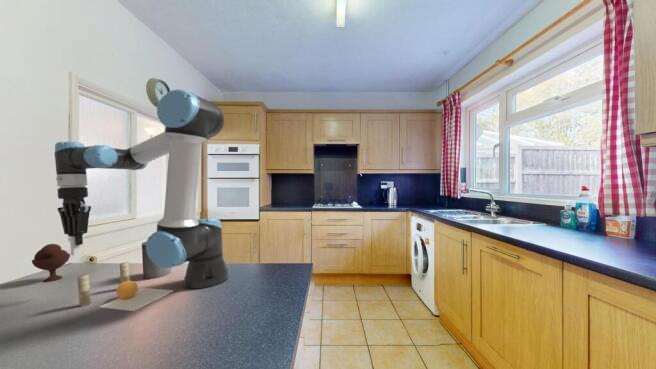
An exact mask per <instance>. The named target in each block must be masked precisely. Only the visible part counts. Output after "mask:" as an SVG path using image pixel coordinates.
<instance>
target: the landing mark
mask: <svg viewBox="0 0 656 369" xmlns="http://www.w3.org/2000/svg"><path fill="white" fill-rule="evenodd" d="M173 292H175V289H174V290H173V289H161V288H160V289H159V288H149V287H148V288H147V287H141V288H139V289H137V292H136V293H135V294H134V295H133V296H132V297H130V298H127V299H123V298H120V297H118V298H116V299H114V300H111V301H109V302H107V303H104V304H102V305H99V306H98V308H101V309H110V310H120V311H129V312H135V311H137V310H139V309H141V308H143V307H144V306H147V305H149V304H151V303H153V302H155V301H156V300H159V299H161V298H164V297H165V296H167V295H169V294H171V293H173Z"/></svg>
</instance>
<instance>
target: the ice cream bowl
mask: <svg viewBox="0 0 656 369" xmlns="http://www.w3.org/2000/svg"><path fill="white" fill-rule="evenodd" d="M70 257H71V253H68V252H67V251H66V250H64V249H62V247H61V246H60V245H59V244H57V243H50V244H46V245H44V246H43V247H41V248H40V249H39V250H38V251H37V252H36V253H35V254H34V257H33V259H32V260H31V262H32V265H33V266H34V267H35V268H38V269H39V270H42V271H48V272H49V276H48V277H47V278H45V279H43V281H42V282H44V283H50V282H55V281H59V280H61V279H62V278H63V276H62V275H58V274H57V269H59V268H62V266H64V265H65V264H66V263H67V262H68V261H69V260H70Z"/></svg>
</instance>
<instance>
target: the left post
mask: <svg viewBox="0 0 656 369" xmlns="http://www.w3.org/2000/svg"><path fill="white" fill-rule="evenodd" d="M90 284H91V283H90V275H89V274H83V275H79V276H77V290H78V291H77V292H78V301H79V302H78V303H79V308H80V307H82V308H83V307H86V306H90V304H92V302H91V301H92V300H91V299H92V298H91V287H90Z"/></svg>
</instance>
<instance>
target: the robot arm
mask: <svg viewBox="0 0 656 369" xmlns="http://www.w3.org/2000/svg"><path fill="white" fill-rule="evenodd" d="M156 116H157V117H158V119H159V122H160V123H161V124H163V126H165V127H164V131H163V132H161V133H159V134H157V135H155V136H152V137H150V138H148V139H146V140H145V141H144V140H143V141H141V142H140V143H137V144H135V145H133V146H131V147H127V148H125V149H123V148H114V147H113V148H112V147H111V146H110V145H105V144H103V145H100V144H94V145H89V146H85V144H84V143H82V142H79V141H76V142H75V141H59V142H56V143H55V144H54V161H55V172H56V178H55V180H56V185H57V187H59V188H57V198H58V199H60V200H62V206H60V207H57V212H58V214H59V216H60V220H61V225H62V229H63V233H64V235H67V236H68V237H69V241H70V242H69V243H70V256H77V255H82V254H84V244H83V242H84V240H83V235H84V234H87V233H88V229H89V228H88V227H89V218H90V212H91V209H92V207H91V205H86V201H85V198H88V197H89V192H88V187H87V186H88V178H87V170H88V169H107V170H108V169H110V170H129V171H138V170H143V169H145V168H146V167H147V166H148V164H149V163H150V162H152V161H155V160H157V159H158V158H159V159H160V158H161V157H163V156H166V155H168V159H167V160H168V163H167V170H166V172H167V173H166V174H167V175H166V185H165V186H166V187H165V197H164V208H163V210H164V211H163V217H162V218H161V219H159V220H158V221H157V222H156V223H157V224H156V231H155V232H153V233H152V234H150V236H149V237H148V238H147V240H146V241H145V242H146V251H147V254H148V256H149V258H150V259H151V260H152V262H153V263H154V264H156V265H157V266H159V267H162V268H171V269H172V268H175V267H178V266H181V265H183V264H184V263H186V262H187V263H188V264H187V268H186V273H185V276H184V278H183V284H184V287H185V288H188V289H202V288H203V289H204V288H208V287H209V288H210V287H213V286H217V285H219V284H221V283H224V282H225V281H227V280H228V279H229V278H230V270H229V268H228V267H227V265H226V264H227V263H226V261H225V259H224V253H223V252H224V251H223V236H222V235H223V234H222V232H223V231H222V230H223V228H222V222H221V220H220V219H218V218H202V219H198V218H197V219H196V217H195V216H196V215H195V214H196V206H197V205H196V204H197V193H198V192H197V191H198V184H199V183H198V180H199V172H200V171H199V170H200V169H199V168H200V162H201V161H200V159H201V149H202V143H204V142H206V141H207V140H210V139H212V138H213V137H216V136H217V135H218V134H220V133H221V132H222V130H223V129H224V126H225V116H224V113H223V111H222V109H221V108H220V107H219V106H218V105H217V104H216V103H214V102H211V101H209V100H207V99H206V98H202V97H201V96H198V95H196V94H195V93H193V92H190V91H186V90H184V89H172V90H170V91H168V92H167V93H165V94H164V95H163V96H162V97H161V98H160V100H159V101H158V104H157V106H156Z"/></svg>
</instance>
